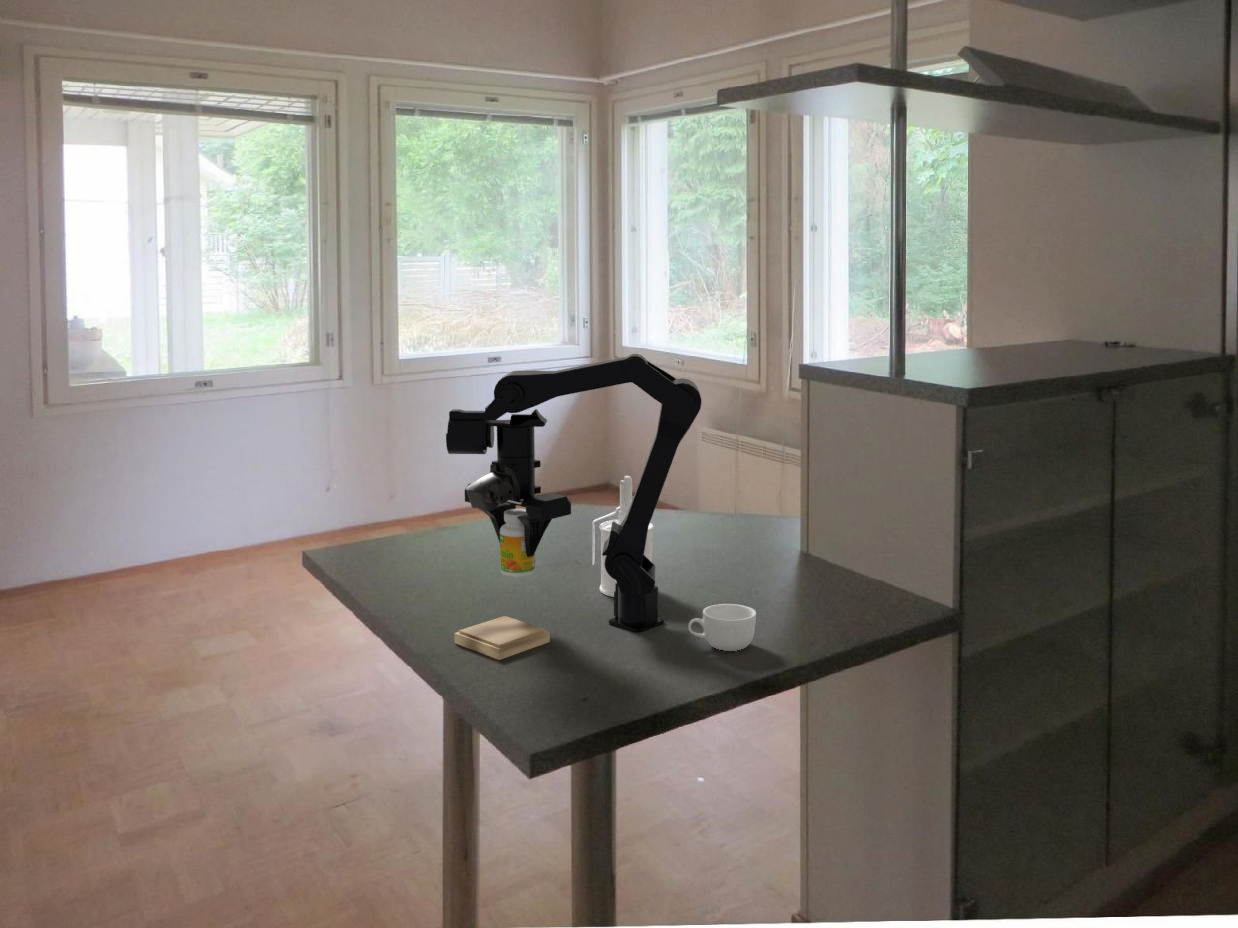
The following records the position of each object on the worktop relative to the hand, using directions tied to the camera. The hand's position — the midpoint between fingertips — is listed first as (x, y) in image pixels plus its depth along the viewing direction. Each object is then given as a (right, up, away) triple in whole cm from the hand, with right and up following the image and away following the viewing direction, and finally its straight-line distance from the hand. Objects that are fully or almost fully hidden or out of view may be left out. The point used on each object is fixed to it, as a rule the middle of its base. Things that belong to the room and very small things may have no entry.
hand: (517, 552), depth 173 cm
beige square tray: (-2, -13, -7) cm, 15 cm away
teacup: (+31, -13, -8) cm, 35 cm away
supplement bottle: (0, -3, +1) cm, 3 cm away
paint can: (+17, -8, +18) cm, 26 cm away
